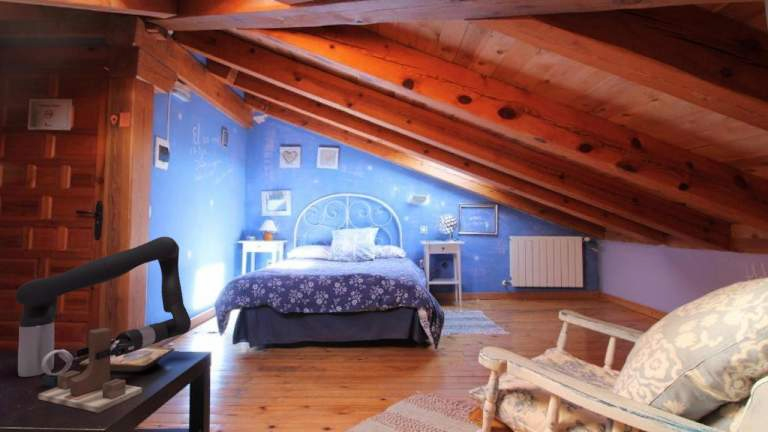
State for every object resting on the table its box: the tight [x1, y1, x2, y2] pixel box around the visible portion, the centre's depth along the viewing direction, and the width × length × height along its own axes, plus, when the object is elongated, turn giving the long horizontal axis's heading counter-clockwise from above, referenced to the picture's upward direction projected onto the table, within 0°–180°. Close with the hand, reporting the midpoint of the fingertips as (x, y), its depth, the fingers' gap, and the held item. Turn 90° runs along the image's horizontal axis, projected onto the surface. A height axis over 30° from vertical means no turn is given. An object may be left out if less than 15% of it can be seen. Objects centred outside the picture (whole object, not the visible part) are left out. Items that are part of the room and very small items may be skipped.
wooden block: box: [70, 327, 112, 397], centre depth 114 cm, size 9×4×18 cm, turn 146°
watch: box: [41, 348, 74, 389], centre depth 122 cm, size 6×8×11 cm
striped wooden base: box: [37, 370, 143, 414], centre depth 113 cm, size 26×13×6 cm, turn 72°
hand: (85, 355), depth 112 cm, fingers open, 8 cm apart
